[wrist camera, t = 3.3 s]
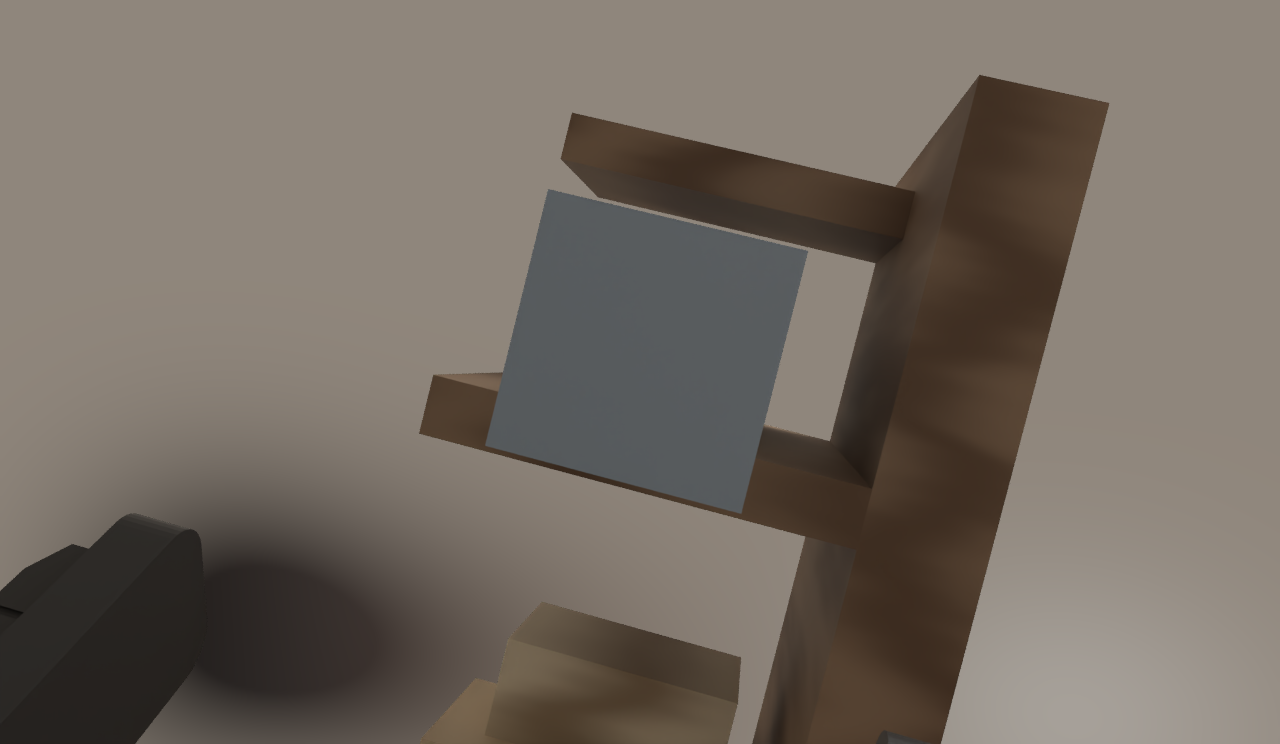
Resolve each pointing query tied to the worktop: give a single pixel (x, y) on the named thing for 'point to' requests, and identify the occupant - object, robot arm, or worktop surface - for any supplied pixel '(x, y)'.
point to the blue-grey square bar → (646, 349)
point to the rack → (860, 443)
